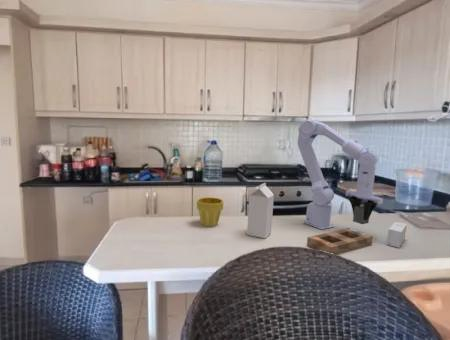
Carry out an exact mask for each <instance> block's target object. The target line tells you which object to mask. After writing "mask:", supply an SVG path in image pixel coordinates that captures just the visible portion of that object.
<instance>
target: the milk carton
mask: <svg viewBox="0 0 450 340" xmlns="http://www.w3.org/2000/svg"><path fill="white" fill-rule="evenodd" d="M252 190H253V192H252V193H251V194H249V196H248V197H249V199H248V216H247V227H246V228H247V230H246V231H247V233H246V235H247V236H252V237H254V238H255V237H256V238H261V239H267V238H268V236H270V235H271V233H272V227H273V212H274V201H275V199H274V197H275V196H274V195H275V194H274V192H272V191H271V190H270V189H269V187H267V182H264V183H261V184H260V185H258V186H255V187H254V188H253V189H252Z"/></svg>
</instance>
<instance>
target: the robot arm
mask: <svg viewBox="0 0 450 340" xmlns="http://www.w3.org/2000/svg"><path fill="white" fill-rule="evenodd" d="M297 129H298V137H297V147H298V150H299V152H300V155H301V158H302V160H303V163H304V166H305V169H306V172H307V173H308V176H309V179H310V182H311V192H312V196H311V197H312V202H310V203H308V205H307V207H306V212H305V214H306V216H305V221H304V224H306V225H309V226H312V227H315V228H317V229H319V230H325V229H330V228H335V225H334V224H331V216H332V215H331V214H332V208H333V207H332V205H333V203H332V201H333V200H334V197H335V192H334V190H333V189H332V188H331V187H330V185H329V183H328V182H327V181H326V180H325V178H324V175H323V172H322V169H321V167H320V165H319V164H320V163H319V162H318V159H317V156H316V154H315V150H314V148H313V145H312V143H314V140H315V139H316V138H317V136H325V137H326V138H328V139H330V140H331V141H332V142H334V143H336V144H338V146H341V150H342V152H343V153H344V154H346V155H347V156H349V157H350V158H352V159H353V160H355V161H357V162H358V164H359V169H358V172H357V173H358V174H357V179H356V180H357V183H356V189H355V191H353V190H346V191H345V197H350V198H349V199H348V201H349V202H350V205H351V208H352V209H351V210H352V214H353V216H354V208H355V206H359V205H360V204H362V201H363V200H364V201H363V204H364V207H365V213H364V220H370V217H371V214H372V213H373V211H374V209H375V208H376V207H377V206H378V205H383V202H384V198H381V197H379V196H376V195H373V193H374V183H375V175H376V164H377V163H378V160H379V158H378V155H377V153H375V152H374V151H373V150H370V148H369V147H364V146H363V145H362V144H360V143H359V140H358V139H354V138H350V139H347V138H345V137H344V136H343V135H341V134H340V133H339V132H337V131H336V130H334V129H333V128H331V127H330V126H329V125H327V124H326V123H323V122H321V121H320V120H319V119H311V118H307V119H305V120H303V121H302V122H301V123H300V125H299V127H298V128H297Z"/></svg>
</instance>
